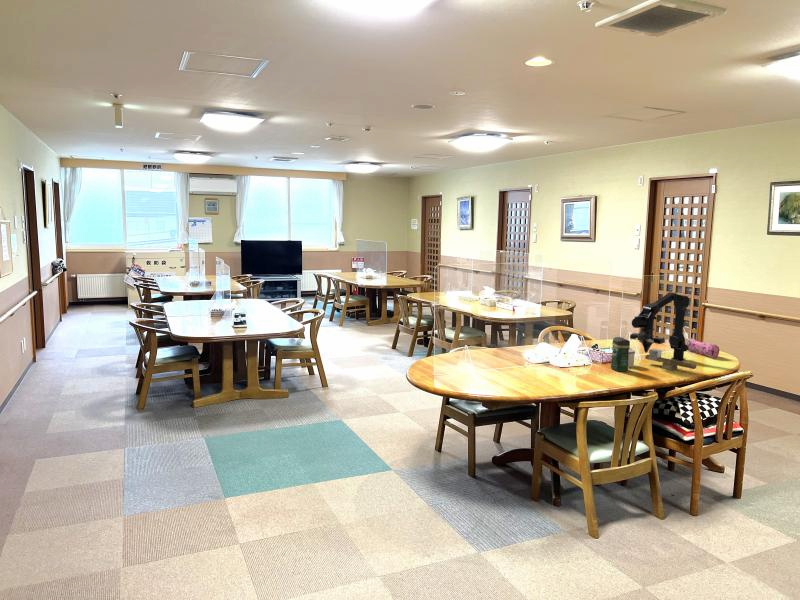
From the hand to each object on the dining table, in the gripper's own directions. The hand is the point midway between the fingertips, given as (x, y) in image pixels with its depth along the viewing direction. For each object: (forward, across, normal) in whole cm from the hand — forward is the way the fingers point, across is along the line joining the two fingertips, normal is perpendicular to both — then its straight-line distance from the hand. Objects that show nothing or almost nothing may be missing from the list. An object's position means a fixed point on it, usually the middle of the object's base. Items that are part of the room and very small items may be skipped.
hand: (646, 352), depth 350 cm
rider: (+3, +6, 0) cm, 6 cm away
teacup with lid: (+7, -5, -15) cm, 17 cm away
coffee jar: (+7, -2, -26) cm, 27 cm away
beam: (+6, +15, 0) cm, 16 cm away
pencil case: (+7, +12, +50) cm, 52 cm away
